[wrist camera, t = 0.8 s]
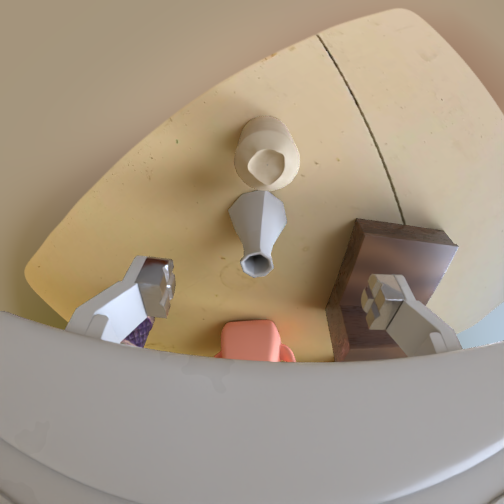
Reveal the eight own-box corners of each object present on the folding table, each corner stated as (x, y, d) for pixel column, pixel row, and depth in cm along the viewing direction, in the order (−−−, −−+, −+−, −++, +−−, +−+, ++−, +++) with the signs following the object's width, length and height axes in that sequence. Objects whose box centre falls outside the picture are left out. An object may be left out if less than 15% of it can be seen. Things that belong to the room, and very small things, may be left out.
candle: (287, 162, 31) (298, 200, 23) (240, 160, 31) (232, 196, 23) (292, 116, 28) (305, 137, 20) (241, 114, 28) (233, 132, 20)
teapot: (202, 318, 48) (193, 368, 39) (305, 311, 46) (312, 363, 38) (216, 352, 55) (211, 397, 46) (304, 347, 53) (309, 393, 44)
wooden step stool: (355, 216, 35) (387, 280, 25) (445, 229, 35) (485, 283, 25) (323, 310, 46) (334, 373, 36) (402, 311, 46) (423, 365, 36)
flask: (218, 207, 35) (205, 255, 27) (267, 178, 32) (269, 221, 24) (249, 246, 38) (246, 300, 30) (296, 223, 36) (306, 274, 28)
